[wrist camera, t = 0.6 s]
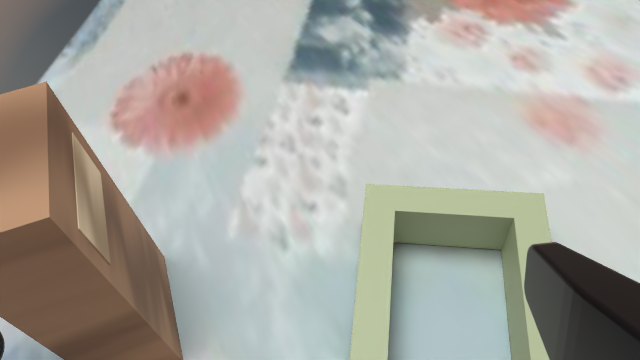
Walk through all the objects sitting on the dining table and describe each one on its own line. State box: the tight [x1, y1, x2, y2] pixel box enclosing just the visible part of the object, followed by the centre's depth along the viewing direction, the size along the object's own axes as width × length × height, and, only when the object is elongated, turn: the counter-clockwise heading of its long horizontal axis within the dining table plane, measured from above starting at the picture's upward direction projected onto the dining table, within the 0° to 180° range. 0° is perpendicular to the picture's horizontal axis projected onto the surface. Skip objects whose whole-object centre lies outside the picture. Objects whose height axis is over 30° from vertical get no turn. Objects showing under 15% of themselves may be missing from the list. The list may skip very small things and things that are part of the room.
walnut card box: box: [0, 82, 183, 360], centre depth 20 cm, size 6×4×12 cm, turn 20°
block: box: [350, 184, 552, 360], centre depth 22 cm, size 14×8×3 cm, turn 173°
